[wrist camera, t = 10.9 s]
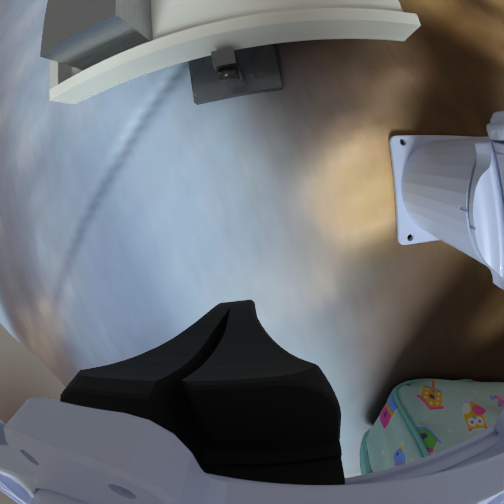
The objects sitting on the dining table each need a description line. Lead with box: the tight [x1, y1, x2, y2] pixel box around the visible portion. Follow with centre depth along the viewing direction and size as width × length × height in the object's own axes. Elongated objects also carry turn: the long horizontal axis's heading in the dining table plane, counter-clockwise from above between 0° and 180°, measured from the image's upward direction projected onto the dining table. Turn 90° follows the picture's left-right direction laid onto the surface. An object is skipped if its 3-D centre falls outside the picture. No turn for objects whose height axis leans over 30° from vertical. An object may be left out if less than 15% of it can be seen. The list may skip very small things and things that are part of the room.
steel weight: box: [40, 0, 153, 70], centre depth 11 cm, size 5×5×4 cm
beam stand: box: [189, 44, 282, 105], centre depth 14 cm, size 6×12×6 cm, turn 9°
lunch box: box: [360, 378, 504, 475], centre depth 15 cm, size 27×10×21 cm, turn 76°
